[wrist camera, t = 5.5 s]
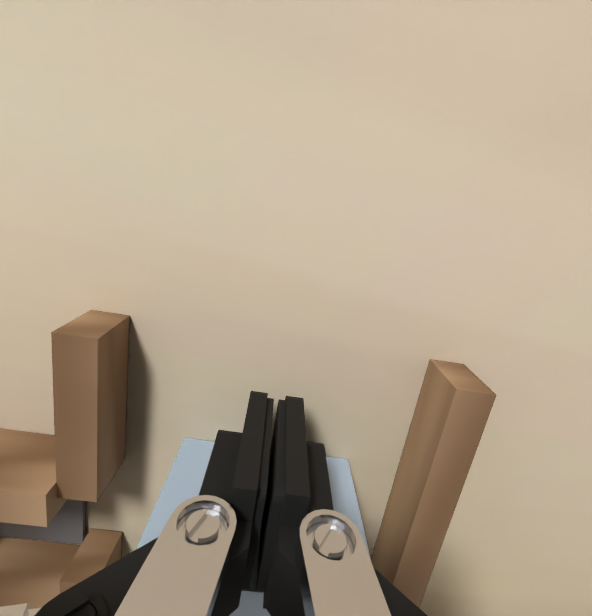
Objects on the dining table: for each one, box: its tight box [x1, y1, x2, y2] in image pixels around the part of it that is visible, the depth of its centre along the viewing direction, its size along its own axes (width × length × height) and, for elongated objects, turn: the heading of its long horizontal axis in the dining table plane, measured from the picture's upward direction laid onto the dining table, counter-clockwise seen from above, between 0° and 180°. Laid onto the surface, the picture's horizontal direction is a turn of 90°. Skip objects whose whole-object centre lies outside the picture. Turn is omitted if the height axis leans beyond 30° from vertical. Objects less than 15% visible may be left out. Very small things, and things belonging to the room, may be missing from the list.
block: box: [137, 438, 371, 616], centre depth 12 cm, size 6×6×5 cm
